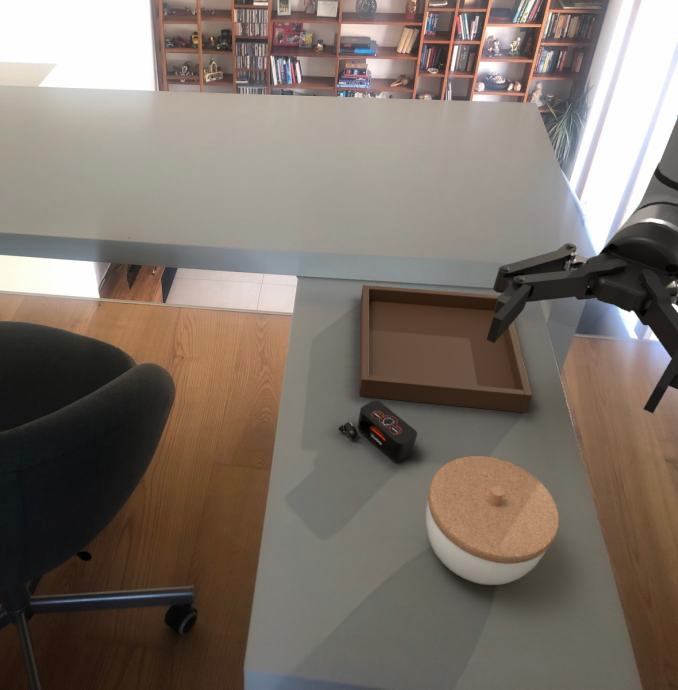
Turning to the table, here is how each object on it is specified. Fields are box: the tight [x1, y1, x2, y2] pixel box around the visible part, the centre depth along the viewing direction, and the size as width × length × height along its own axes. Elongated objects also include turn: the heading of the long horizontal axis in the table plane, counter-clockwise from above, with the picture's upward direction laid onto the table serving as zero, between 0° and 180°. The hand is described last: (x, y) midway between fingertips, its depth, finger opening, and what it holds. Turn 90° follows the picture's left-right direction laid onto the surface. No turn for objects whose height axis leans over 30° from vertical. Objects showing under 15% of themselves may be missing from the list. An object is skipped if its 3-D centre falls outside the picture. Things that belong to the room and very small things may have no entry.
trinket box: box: [424, 455, 560, 586], centre depth 62 cm, size 11×11×9 cm
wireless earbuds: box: [338, 399, 418, 463], centre depth 74 cm, size 5×7×3 cm, turn 35°
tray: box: [358, 284, 533, 414], centre depth 86 cm, size 19×19×3 cm
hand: (569, 363), depth 59 cm, fingers open, 13 cm apart
